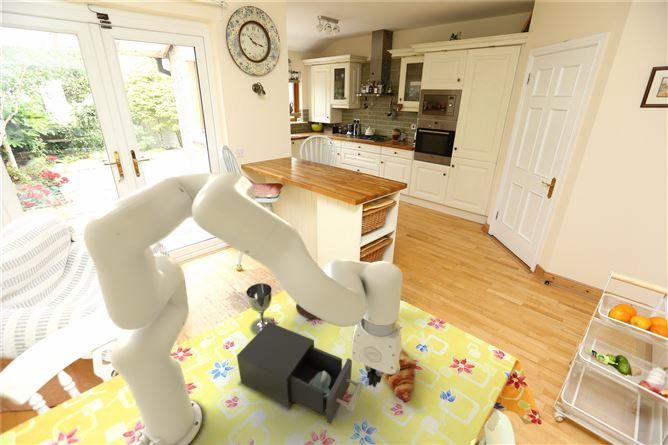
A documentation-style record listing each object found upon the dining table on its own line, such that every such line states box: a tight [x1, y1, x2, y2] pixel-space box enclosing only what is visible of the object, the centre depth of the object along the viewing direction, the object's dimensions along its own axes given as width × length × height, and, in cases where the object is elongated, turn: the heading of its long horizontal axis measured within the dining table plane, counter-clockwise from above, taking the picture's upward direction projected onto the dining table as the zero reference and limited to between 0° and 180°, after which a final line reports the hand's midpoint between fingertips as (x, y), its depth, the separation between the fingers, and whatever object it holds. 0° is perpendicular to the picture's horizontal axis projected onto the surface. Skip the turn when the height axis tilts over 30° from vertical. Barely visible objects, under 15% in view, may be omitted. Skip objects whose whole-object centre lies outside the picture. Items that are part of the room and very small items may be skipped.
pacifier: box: [309, 371, 331, 398], centre depth 75 cm, size 7×6×6 cm
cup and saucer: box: [295, 303, 317, 319], centre depth 106 cm, size 12×12×6 cm
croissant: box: [382, 348, 417, 404], centre depth 83 cm, size 21×10×8 cm, turn 3°
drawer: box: [288, 346, 364, 425], centre depth 75 cm, size 19×12×9 cm, turn 64°
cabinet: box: [236, 322, 315, 409], centre depth 80 cm, size 16×14×11 cm
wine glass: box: [245, 282, 274, 335], centre depth 96 cm, size 8×8×15 cm
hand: (373, 381), depth 67 cm, fingers closed
